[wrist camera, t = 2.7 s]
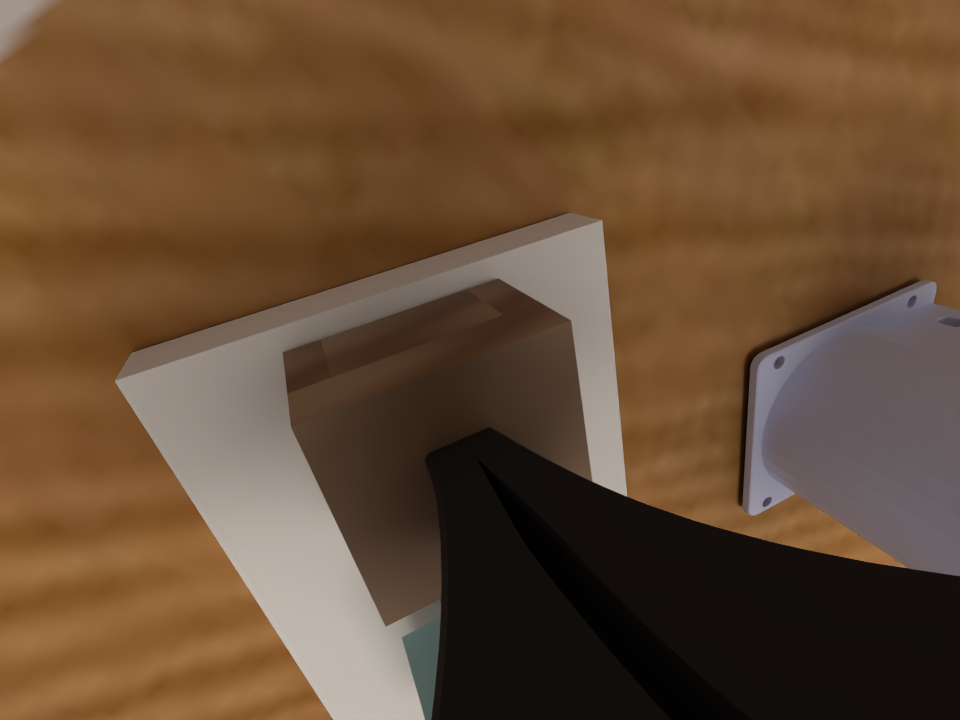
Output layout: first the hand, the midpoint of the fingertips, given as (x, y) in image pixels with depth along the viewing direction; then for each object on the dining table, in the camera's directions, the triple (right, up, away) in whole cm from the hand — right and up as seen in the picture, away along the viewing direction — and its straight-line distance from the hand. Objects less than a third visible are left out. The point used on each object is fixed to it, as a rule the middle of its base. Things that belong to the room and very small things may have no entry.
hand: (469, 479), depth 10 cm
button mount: (0, -5, +8) cm, 9 cm away
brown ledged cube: (-1, +1, +3) cm, 3 cm away
